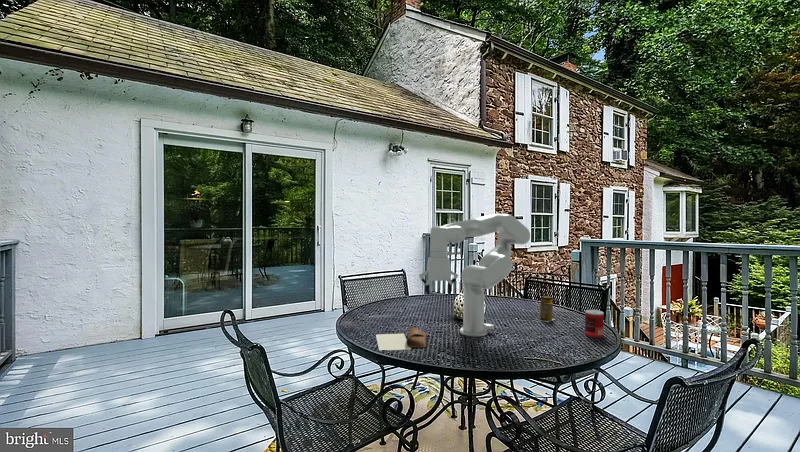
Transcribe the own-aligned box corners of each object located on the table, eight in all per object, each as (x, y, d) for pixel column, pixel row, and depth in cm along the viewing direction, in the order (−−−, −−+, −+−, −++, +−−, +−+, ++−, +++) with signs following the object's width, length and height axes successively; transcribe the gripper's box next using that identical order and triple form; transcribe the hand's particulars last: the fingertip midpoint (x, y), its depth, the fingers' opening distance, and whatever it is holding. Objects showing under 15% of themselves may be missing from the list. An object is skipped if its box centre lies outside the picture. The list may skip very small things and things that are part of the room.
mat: (403, 333, 182) (403, 333, 182) (411, 349, 162) (411, 349, 162) (375, 334, 181) (375, 334, 181) (379, 350, 160) (379, 350, 160)
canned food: (602, 334, 184) (603, 310, 183) (603, 339, 176) (604, 314, 176) (584, 331, 187) (585, 308, 186) (584, 336, 180) (585, 312, 179)
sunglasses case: (427, 346, 163) (419, 332, 163) (412, 354, 164) (404, 340, 164) (427, 333, 181) (420, 320, 181) (414, 340, 182) (407, 328, 182)
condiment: (555, 319, 208) (555, 296, 208) (548, 322, 203) (548, 299, 202) (542, 316, 214) (542, 294, 213) (534, 319, 208) (535, 297, 207)
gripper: (455, 253, 177) (455, 291, 178) (417, 253, 175) (417, 292, 176) (460, 255, 170) (460, 295, 171) (420, 255, 168) (420, 295, 169)
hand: (438, 293), depth 173 cm, fingers open, 9 cm apart
